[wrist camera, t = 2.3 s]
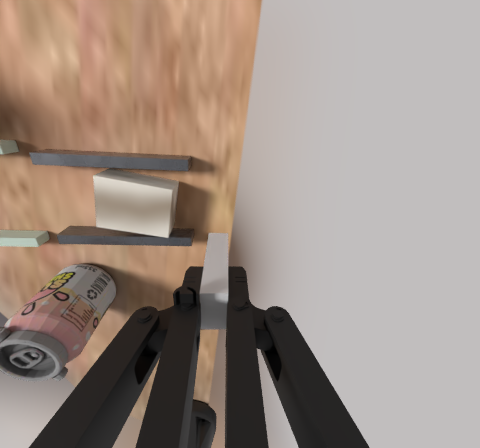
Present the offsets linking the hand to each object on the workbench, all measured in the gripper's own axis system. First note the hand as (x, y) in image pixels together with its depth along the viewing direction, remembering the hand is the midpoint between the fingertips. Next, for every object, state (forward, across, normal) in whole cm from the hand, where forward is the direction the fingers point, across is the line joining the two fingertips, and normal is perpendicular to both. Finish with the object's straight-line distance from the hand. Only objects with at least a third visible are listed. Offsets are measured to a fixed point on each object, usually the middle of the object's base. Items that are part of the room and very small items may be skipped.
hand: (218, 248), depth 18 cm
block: (+12, +10, 0) cm, 16 cm away
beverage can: (+12, +20, +14) cm, 27 cm away
